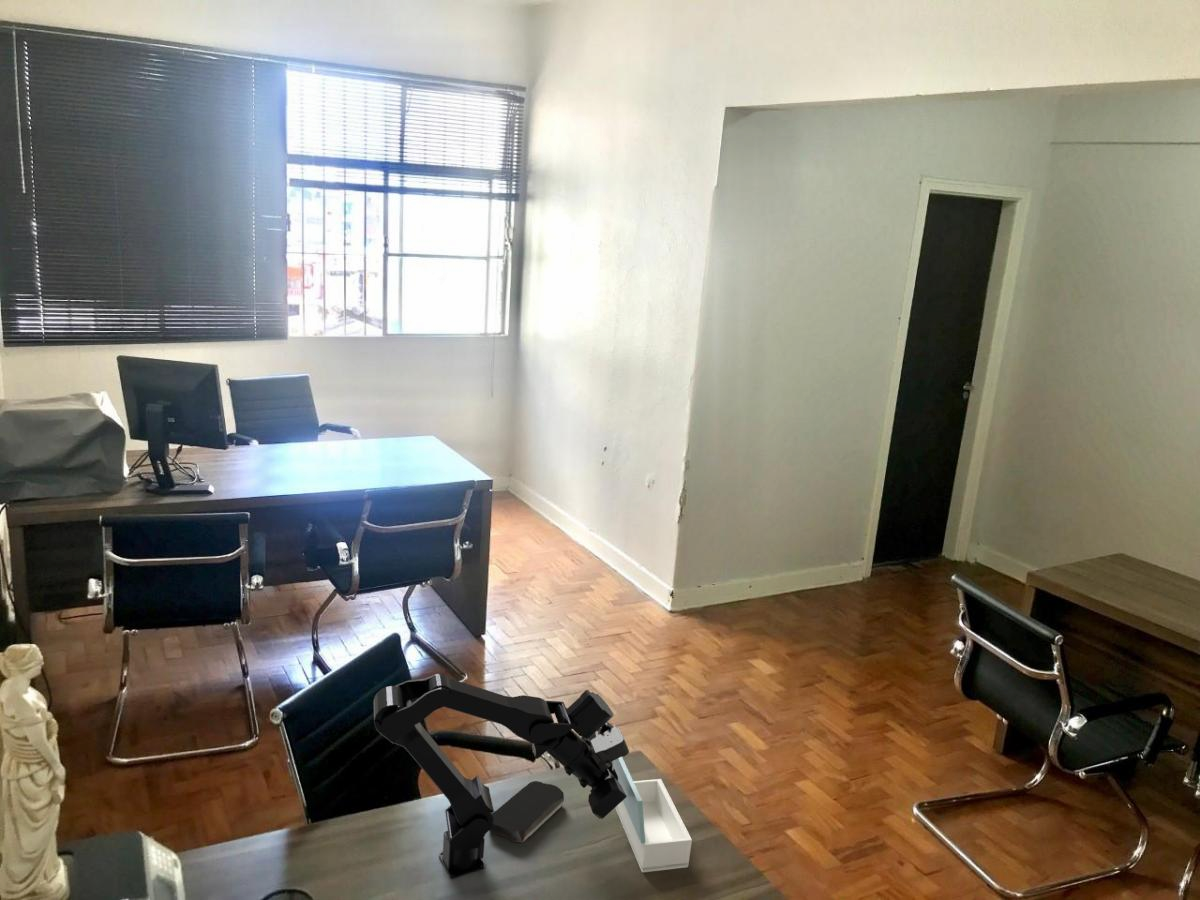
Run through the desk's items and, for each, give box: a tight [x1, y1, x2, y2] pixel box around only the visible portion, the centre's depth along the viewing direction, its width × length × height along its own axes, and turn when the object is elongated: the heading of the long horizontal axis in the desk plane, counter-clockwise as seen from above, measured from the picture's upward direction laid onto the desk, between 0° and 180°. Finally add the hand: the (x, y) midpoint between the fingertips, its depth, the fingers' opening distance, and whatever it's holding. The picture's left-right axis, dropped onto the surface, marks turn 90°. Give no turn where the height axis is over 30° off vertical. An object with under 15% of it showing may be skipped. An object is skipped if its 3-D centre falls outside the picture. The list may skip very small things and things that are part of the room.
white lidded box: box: [615, 778, 693, 873], centre depth 172 cm, size 9×18×6 cm, turn 15°
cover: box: [612, 757, 645, 844], centre depth 168 cm, size 9×18×1 cm
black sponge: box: [489, 780, 565, 843], centre depth 174 cm, size 16×8×4 cm, turn 149°
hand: (624, 797), depth 166 cm, fingers closed
